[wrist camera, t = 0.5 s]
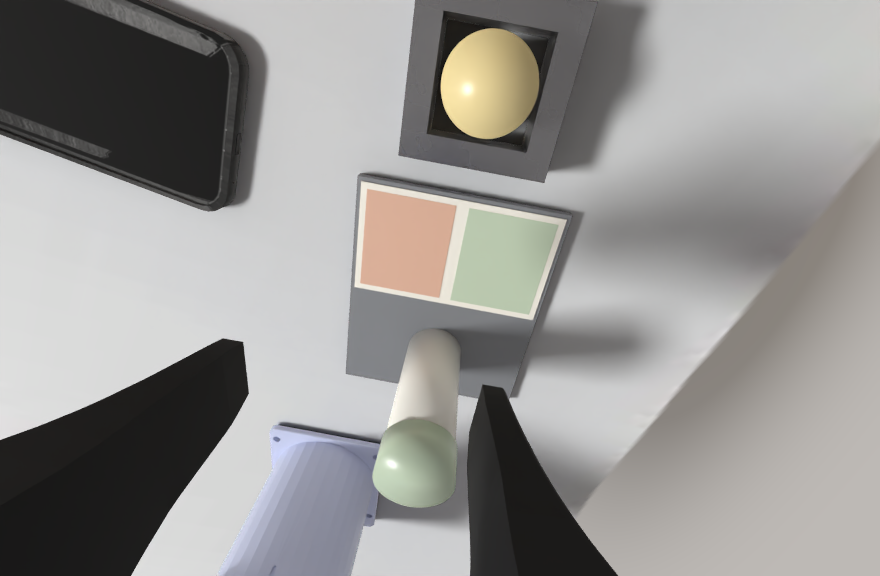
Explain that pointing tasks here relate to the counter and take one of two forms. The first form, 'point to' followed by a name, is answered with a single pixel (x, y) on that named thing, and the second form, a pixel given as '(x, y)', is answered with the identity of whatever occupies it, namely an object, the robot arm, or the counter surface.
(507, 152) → the button collar
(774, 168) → the counter surface
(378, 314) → the picture board
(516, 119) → the button
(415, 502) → the marker
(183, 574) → the counter surface
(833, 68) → the counter surface
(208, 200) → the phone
